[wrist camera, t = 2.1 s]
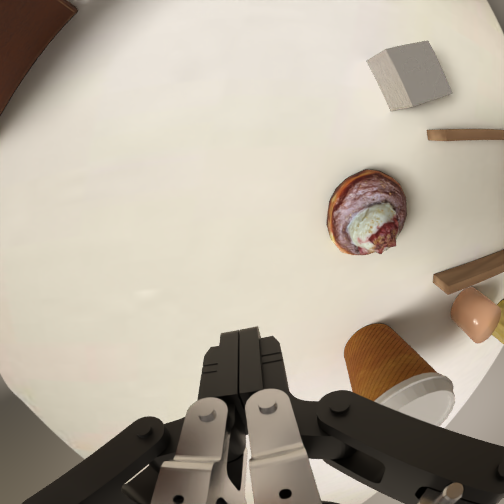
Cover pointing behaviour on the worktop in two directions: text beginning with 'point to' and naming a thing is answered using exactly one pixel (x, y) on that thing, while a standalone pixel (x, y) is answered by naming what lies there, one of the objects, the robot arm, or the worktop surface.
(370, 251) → the pastry
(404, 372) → the disposable coffee cup
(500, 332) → the vase
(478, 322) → the peach rounded blob
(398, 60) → the gray block
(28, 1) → the letter holder
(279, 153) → the worktop surface
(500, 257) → the display bay
